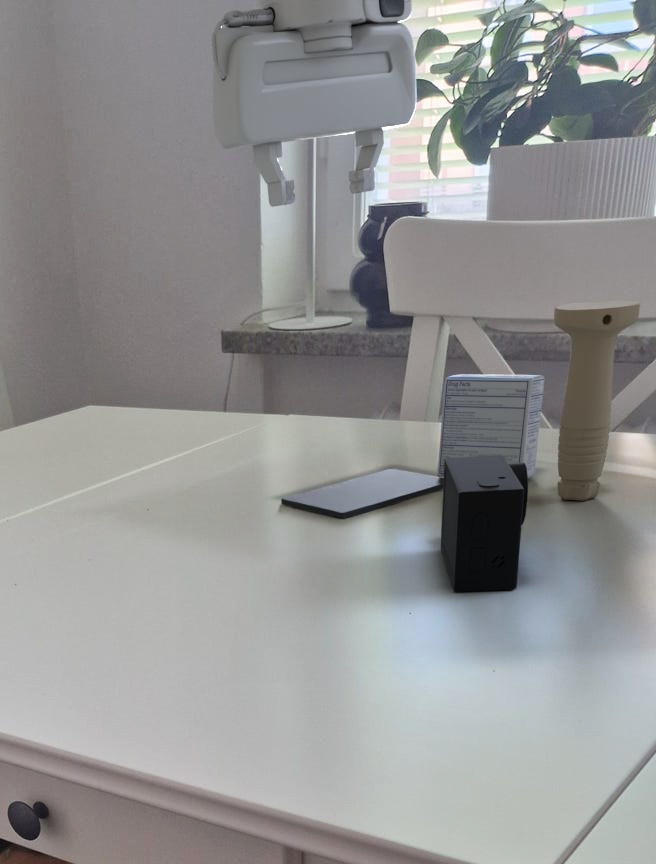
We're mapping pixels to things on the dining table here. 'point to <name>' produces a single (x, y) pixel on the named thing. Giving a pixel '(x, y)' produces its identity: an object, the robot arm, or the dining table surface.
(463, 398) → the medicine box
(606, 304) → the handle
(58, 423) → the dining table surface
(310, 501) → the smartphone
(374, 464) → the dining table surface
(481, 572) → the digital camera
